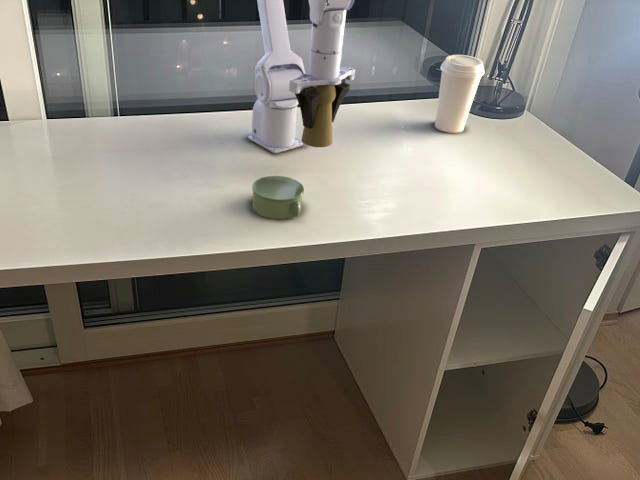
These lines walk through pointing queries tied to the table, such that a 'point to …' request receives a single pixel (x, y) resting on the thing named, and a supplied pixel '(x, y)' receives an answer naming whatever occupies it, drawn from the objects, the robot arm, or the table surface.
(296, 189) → the upturned mug
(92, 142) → the table surface
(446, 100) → the coffee cup
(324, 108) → the brown pawn
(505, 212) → the table surface
